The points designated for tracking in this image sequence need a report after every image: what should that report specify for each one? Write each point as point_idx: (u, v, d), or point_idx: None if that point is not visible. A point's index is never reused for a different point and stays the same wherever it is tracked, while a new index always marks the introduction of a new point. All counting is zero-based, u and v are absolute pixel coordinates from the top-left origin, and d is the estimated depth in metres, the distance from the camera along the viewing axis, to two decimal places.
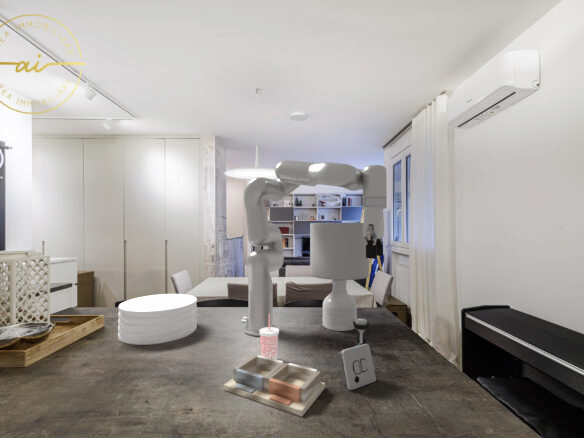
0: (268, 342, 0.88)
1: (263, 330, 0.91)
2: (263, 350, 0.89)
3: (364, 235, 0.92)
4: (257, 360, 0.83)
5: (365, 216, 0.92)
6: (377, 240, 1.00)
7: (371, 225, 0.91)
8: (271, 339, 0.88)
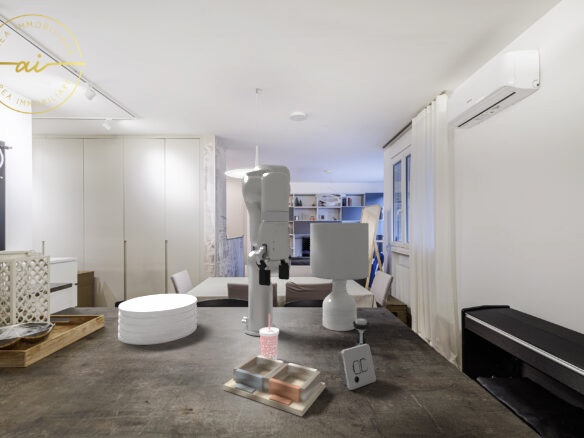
0: (268, 342, 0.88)
1: (263, 330, 0.91)
2: (263, 350, 0.89)
3: None
4: (257, 360, 0.83)
5: (259, 234, 0.77)
6: (283, 261, 0.84)
7: (264, 245, 0.75)
8: (271, 339, 0.88)
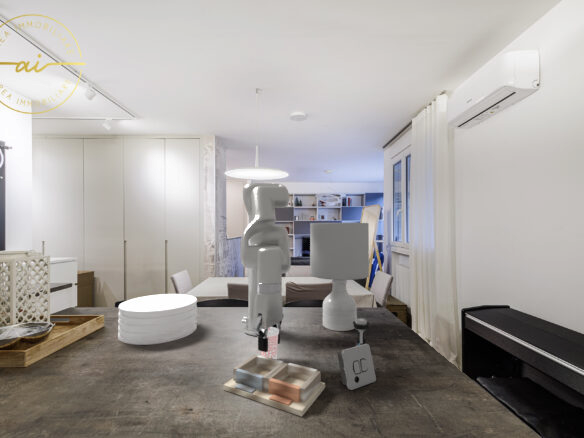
0: (268, 342, 0.88)
1: (263, 330, 0.91)
2: None
3: (254, 324, 0.87)
4: (257, 360, 0.83)
5: (255, 304, 0.88)
6: (275, 325, 0.94)
7: (260, 316, 0.86)
8: (271, 339, 0.88)
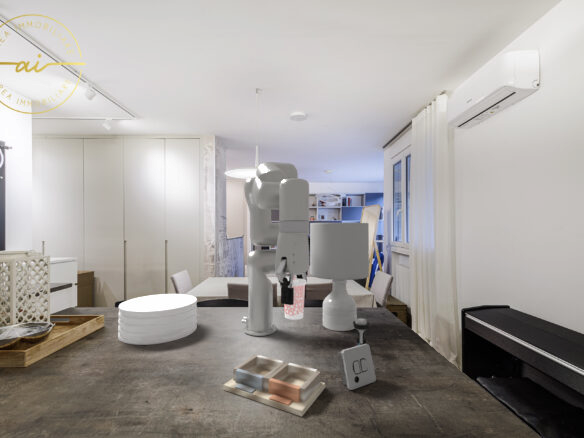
0: None
1: None
2: None
3: (276, 271, 0.70)
4: (257, 360, 0.83)
5: (278, 246, 0.70)
6: (300, 277, 0.77)
7: (284, 260, 0.69)
8: (297, 289, 0.71)
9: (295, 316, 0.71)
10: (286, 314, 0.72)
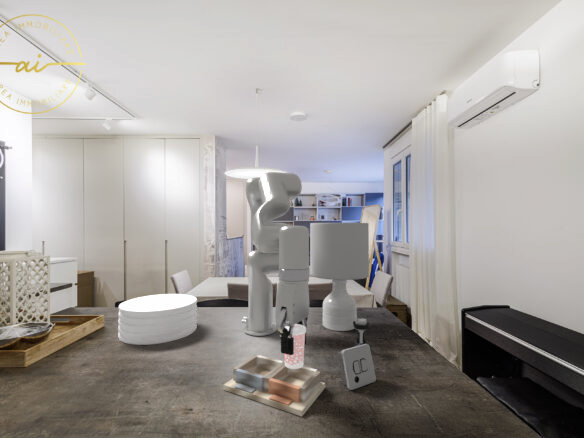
0: None
1: (286, 328, 0.73)
2: None
3: (276, 320, 0.70)
4: (257, 360, 0.83)
5: (278, 295, 0.70)
6: (300, 322, 0.77)
7: (284, 310, 0.69)
8: (297, 338, 0.70)
9: (295, 365, 0.71)
10: (286, 363, 0.71)
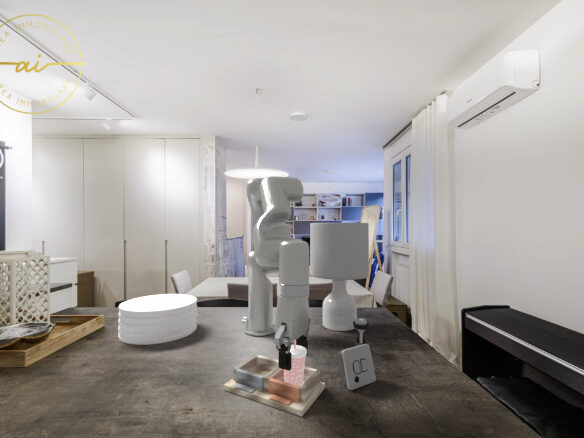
0: (294, 366, 0.70)
1: None
2: (287, 375, 0.71)
3: (276, 336, 0.70)
4: (257, 360, 0.83)
5: (278, 311, 0.70)
6: None
7: (284, 325, 0.69)
8: (298, 362, 0.70)
9: None
10: None
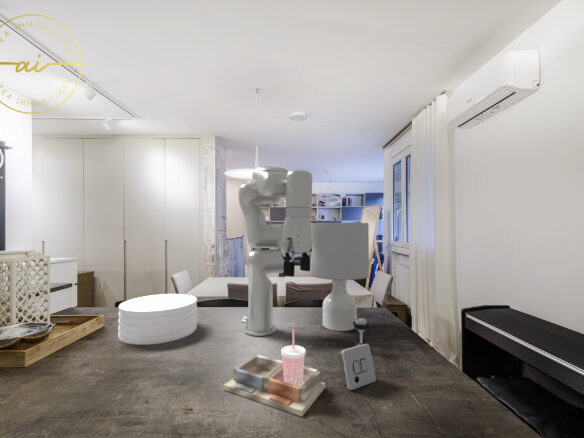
0: (293, 366, 0.70)
1: (286, 350, 0.73)
2: (286, 375, 0.71)
3: None
4: (257, 360, 0.83)
5: (284, 228, 0.82)
6: (305, 253, 0.90)
7: (289, 239, 0.81)
8: (297, 362, 0.70)
9: None
10: None
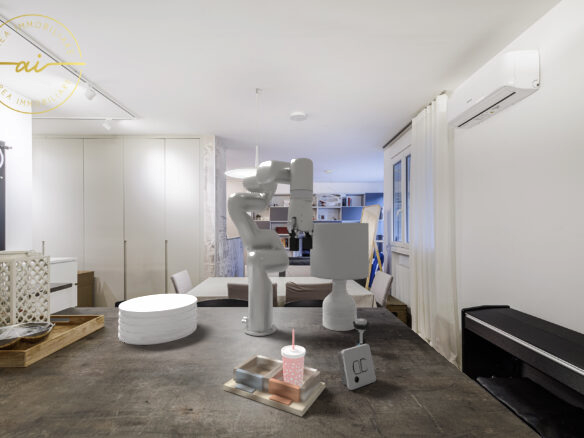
0: (293, 366, 0.70)
1: (286, 350, 0.73)
2: (286, 375, 0.71)
3: None
4: (257, 360, 0.83)
5: (289, 209, 0.92)
6: (307, 233, 1.00)
7: (294, 218, 0.91)
8: (297, 361, 0.70)
9: None
10: None
